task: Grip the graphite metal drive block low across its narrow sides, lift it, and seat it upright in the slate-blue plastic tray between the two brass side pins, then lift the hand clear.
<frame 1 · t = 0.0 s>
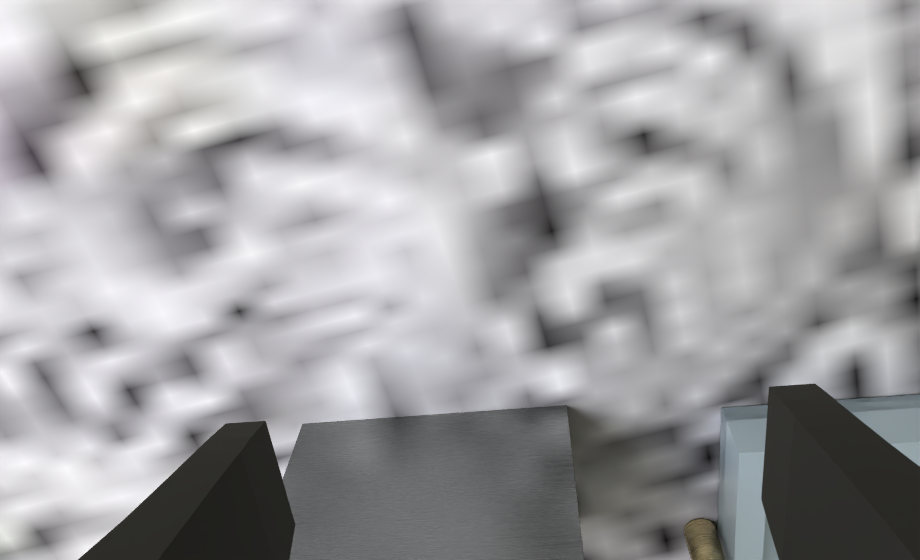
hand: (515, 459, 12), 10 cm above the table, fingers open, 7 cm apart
drive: (442, 471, 25), on the table
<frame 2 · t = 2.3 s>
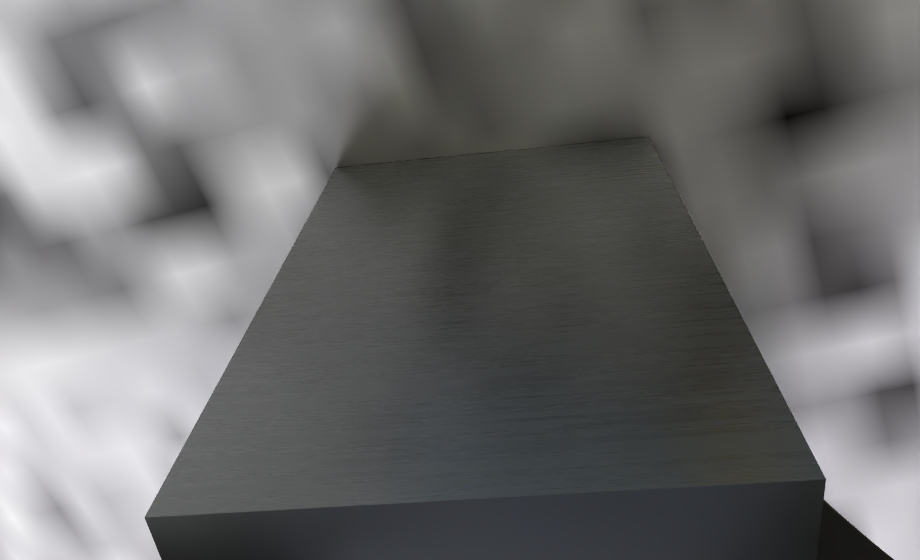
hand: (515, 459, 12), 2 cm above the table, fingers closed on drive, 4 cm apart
drive: (513, 382, 13), on the table, touching gripper
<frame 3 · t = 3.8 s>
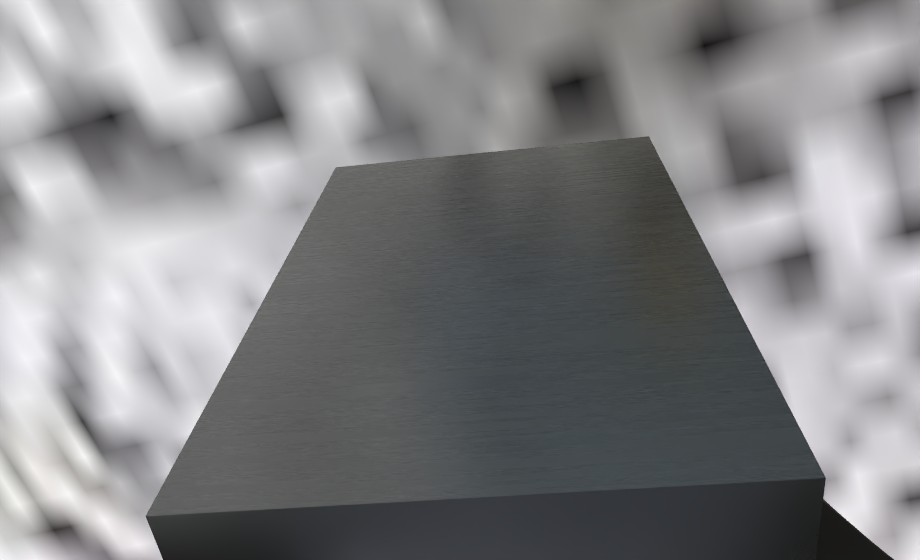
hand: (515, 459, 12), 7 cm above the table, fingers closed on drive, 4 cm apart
drive: (513, 381, 13), point 5 cm above the table, touching gripper
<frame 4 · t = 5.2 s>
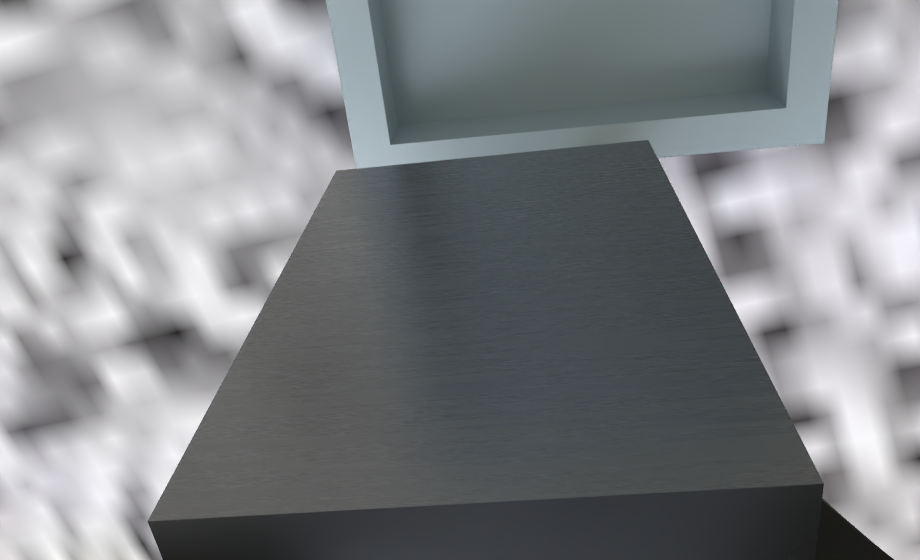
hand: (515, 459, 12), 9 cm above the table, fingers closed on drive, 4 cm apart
drive: (513, 384, 13), point 7 cm above the table, touching gripper
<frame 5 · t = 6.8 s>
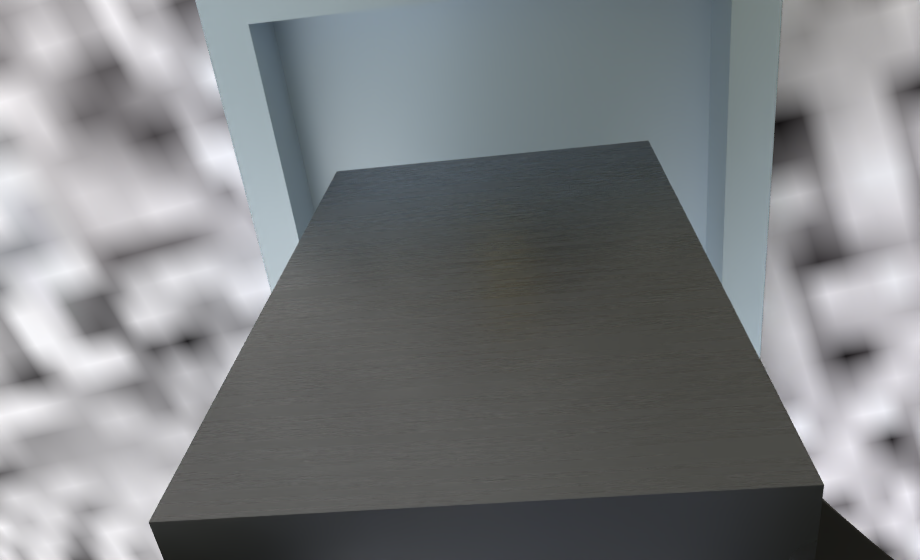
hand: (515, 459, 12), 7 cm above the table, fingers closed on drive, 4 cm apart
pin tray: (513, 256, 18), on the table
drive: (514, 384, 13), point 5 cm above the table, touching gripper
when the fingers open (4 cm above the table, at t = 8.3 s): drive drops 1 cm, resting on pin tray.
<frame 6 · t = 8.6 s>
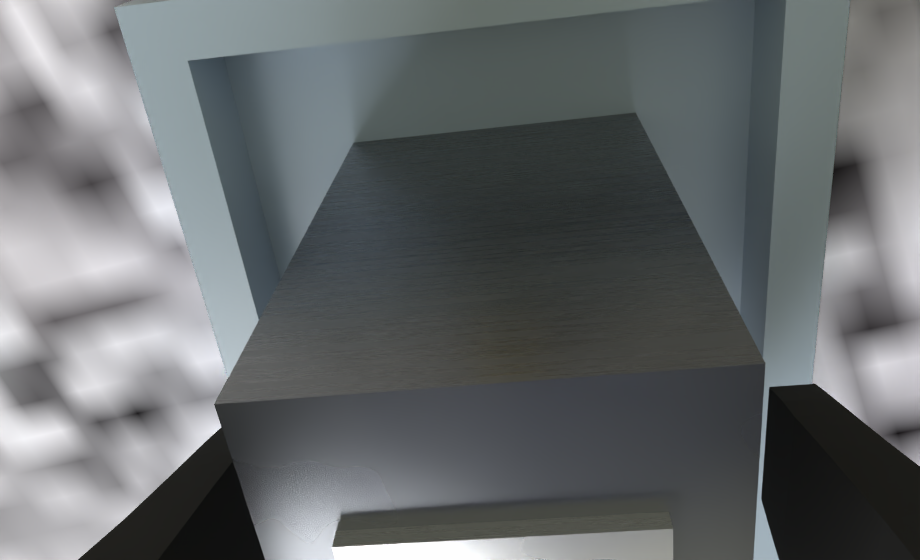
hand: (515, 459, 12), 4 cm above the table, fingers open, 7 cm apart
pin tray: (513, 321, 15), on the table
drive: (515, 340, 14), point 1 cm above the table, touching pin tray
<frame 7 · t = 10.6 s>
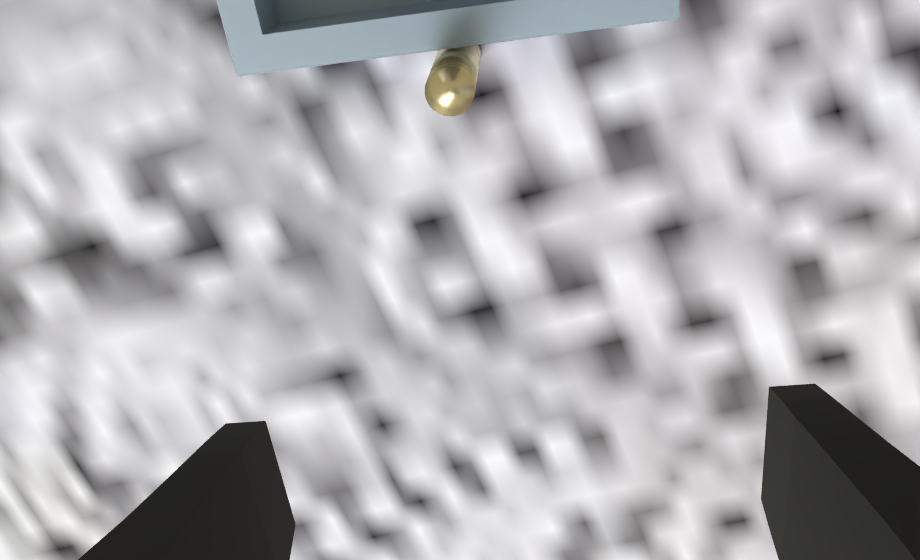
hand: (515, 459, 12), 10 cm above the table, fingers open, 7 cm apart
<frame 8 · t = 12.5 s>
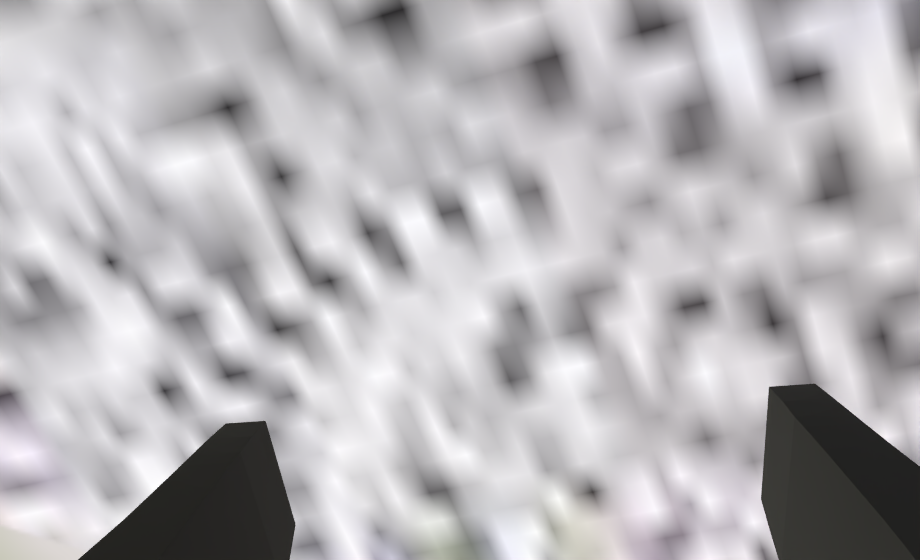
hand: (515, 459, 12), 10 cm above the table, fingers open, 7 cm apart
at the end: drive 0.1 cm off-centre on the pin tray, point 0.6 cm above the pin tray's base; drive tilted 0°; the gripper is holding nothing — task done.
